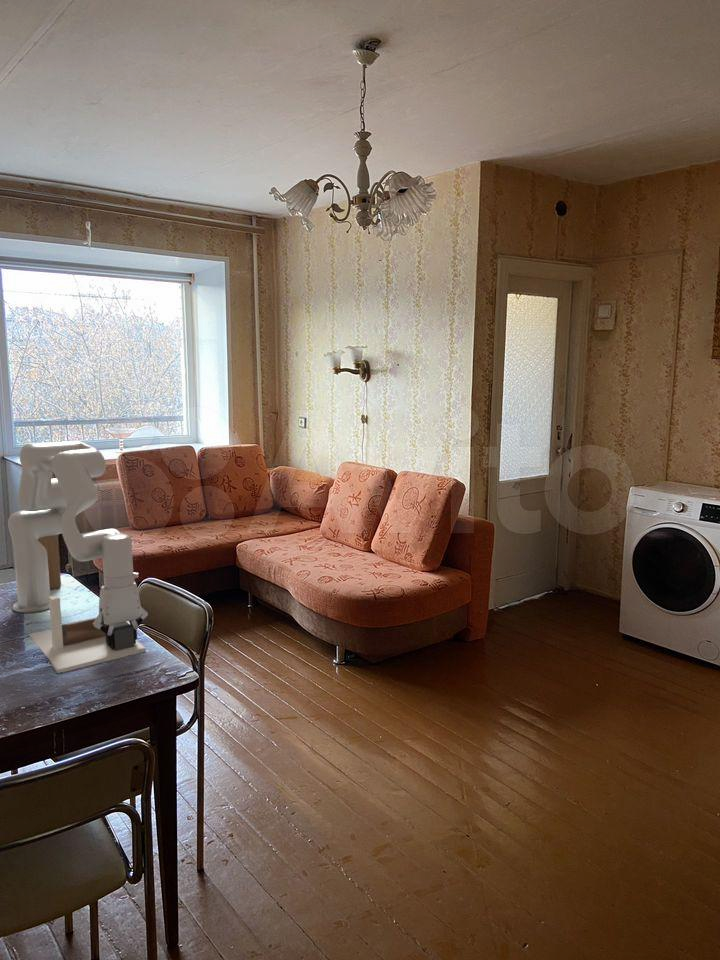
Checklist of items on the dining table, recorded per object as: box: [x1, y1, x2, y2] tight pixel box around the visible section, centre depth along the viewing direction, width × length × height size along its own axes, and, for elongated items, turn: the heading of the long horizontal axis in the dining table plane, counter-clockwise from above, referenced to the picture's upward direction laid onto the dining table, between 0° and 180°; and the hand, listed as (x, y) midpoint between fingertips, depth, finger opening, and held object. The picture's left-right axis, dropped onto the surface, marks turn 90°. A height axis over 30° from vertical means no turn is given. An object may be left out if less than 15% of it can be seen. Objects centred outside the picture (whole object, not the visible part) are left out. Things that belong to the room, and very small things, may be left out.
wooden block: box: [38, 534, 62, 590], centre depth 243 cm, size 10×10×20 cm
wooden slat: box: [62, 616, 106, 645], centre depth 194 cm, size 1×15×6 cm, turn 128°
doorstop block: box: [105, 621, 134, 651], centre depth 191 cm, size 8×5×6 cm, turn 38°
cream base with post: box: [28, 595, 146, 674], centre depth 193 cm, size 30×22×15 cm
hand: (122, 644), depth 190 cm, fingers closed on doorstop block, 5 cm apart
